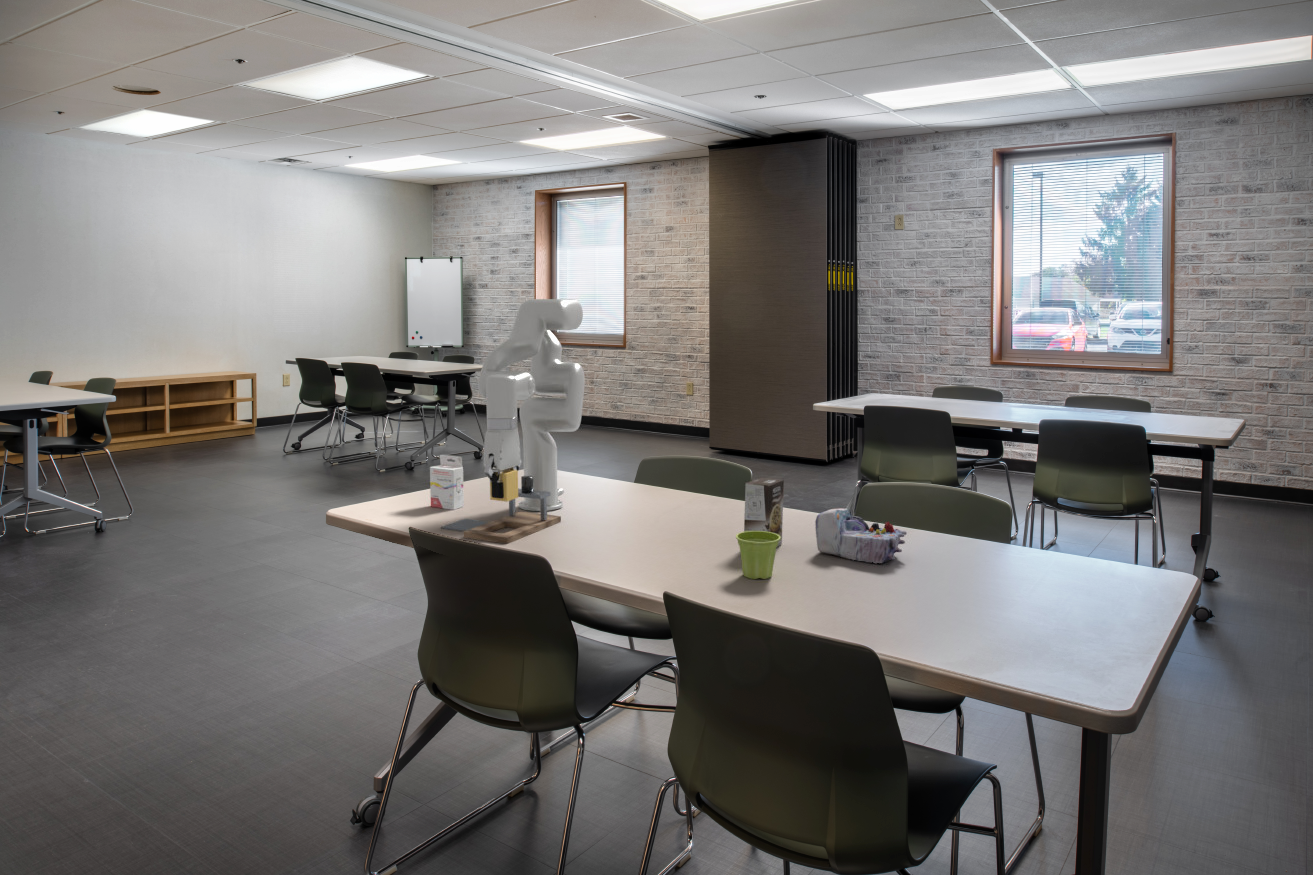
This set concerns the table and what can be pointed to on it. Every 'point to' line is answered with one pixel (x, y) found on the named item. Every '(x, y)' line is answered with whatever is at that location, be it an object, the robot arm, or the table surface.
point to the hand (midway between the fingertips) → (504, 494)
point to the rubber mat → (464, 525)
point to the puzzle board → (522, 523)
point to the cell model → (856, 537)
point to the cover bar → (530, 496)
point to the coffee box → (764, 506)
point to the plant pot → (757, 553)
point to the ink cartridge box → (447, 483)
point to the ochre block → (508, 485)
